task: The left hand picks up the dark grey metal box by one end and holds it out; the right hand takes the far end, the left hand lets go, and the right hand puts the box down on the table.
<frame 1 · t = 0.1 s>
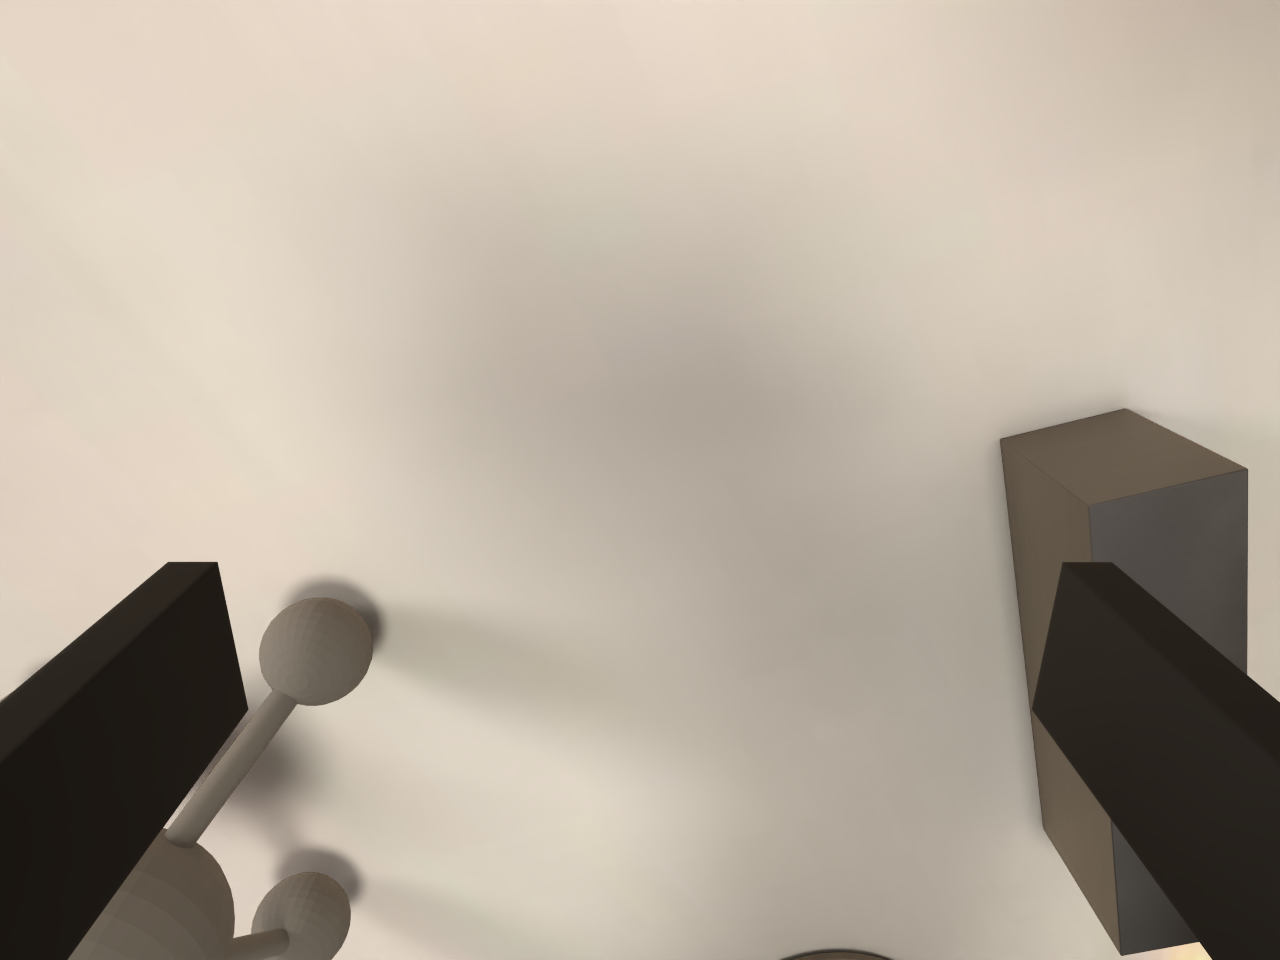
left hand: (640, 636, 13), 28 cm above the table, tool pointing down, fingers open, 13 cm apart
box: (1080, 641, 45), on the table
molecular model: (266, 719, 47), on the table
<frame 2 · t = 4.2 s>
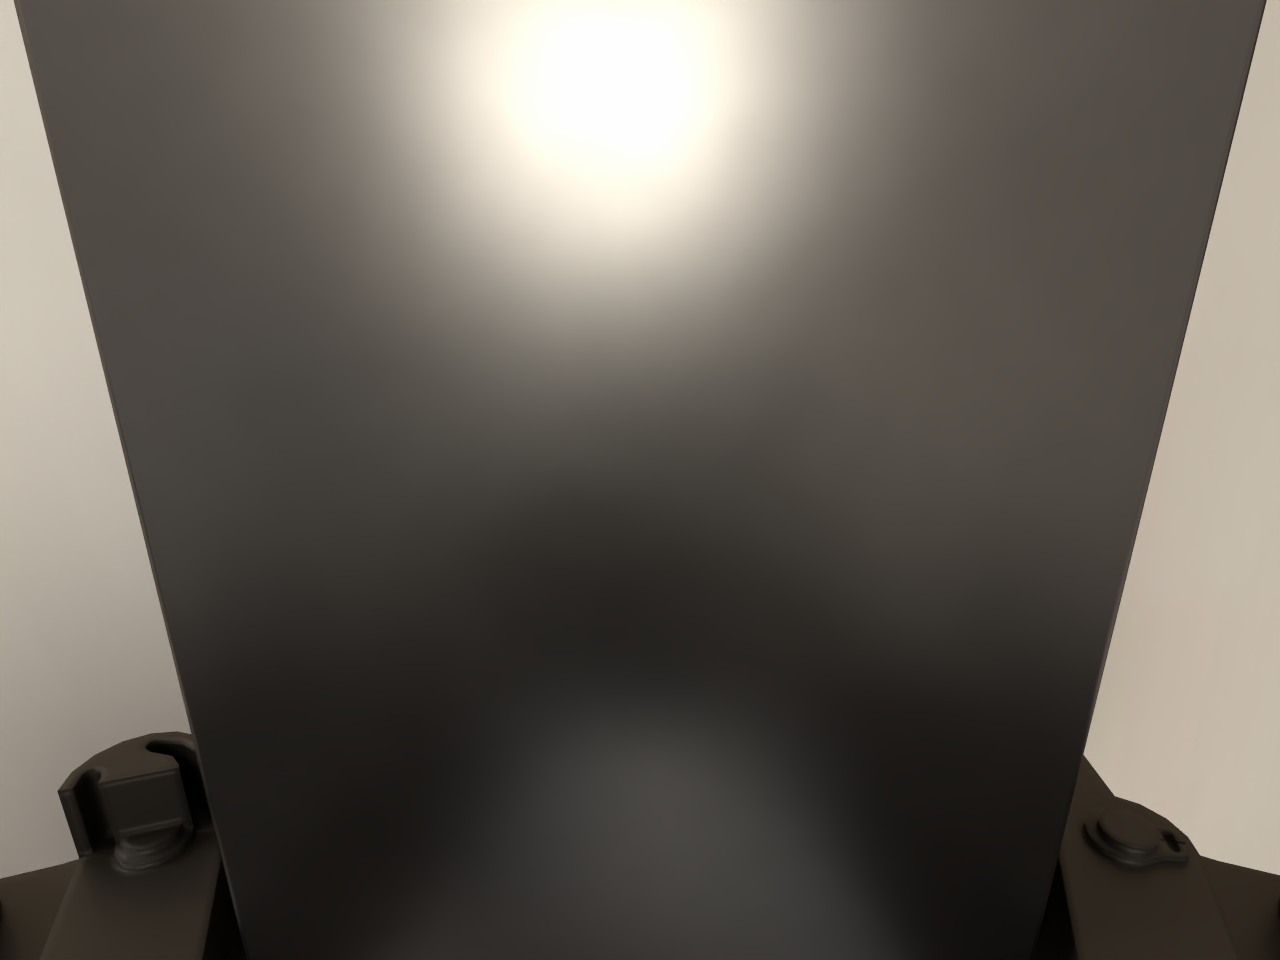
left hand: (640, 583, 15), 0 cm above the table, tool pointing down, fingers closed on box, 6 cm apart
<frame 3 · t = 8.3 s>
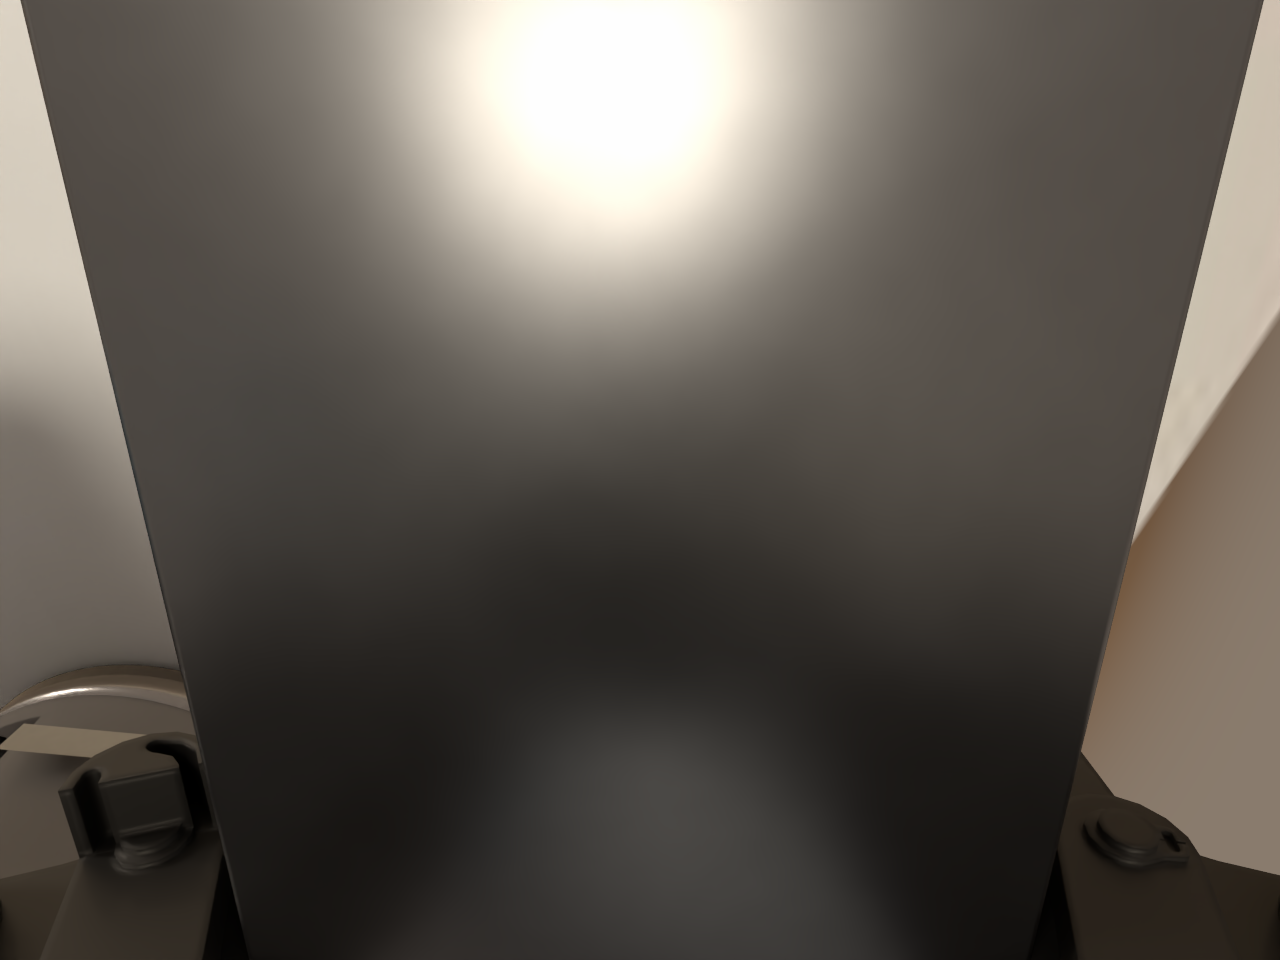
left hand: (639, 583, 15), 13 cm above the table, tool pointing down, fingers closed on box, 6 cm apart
when the left hand's fingers open (13 cm above the table, at t = 9.3 s): box stays where it is, held by the right hand.
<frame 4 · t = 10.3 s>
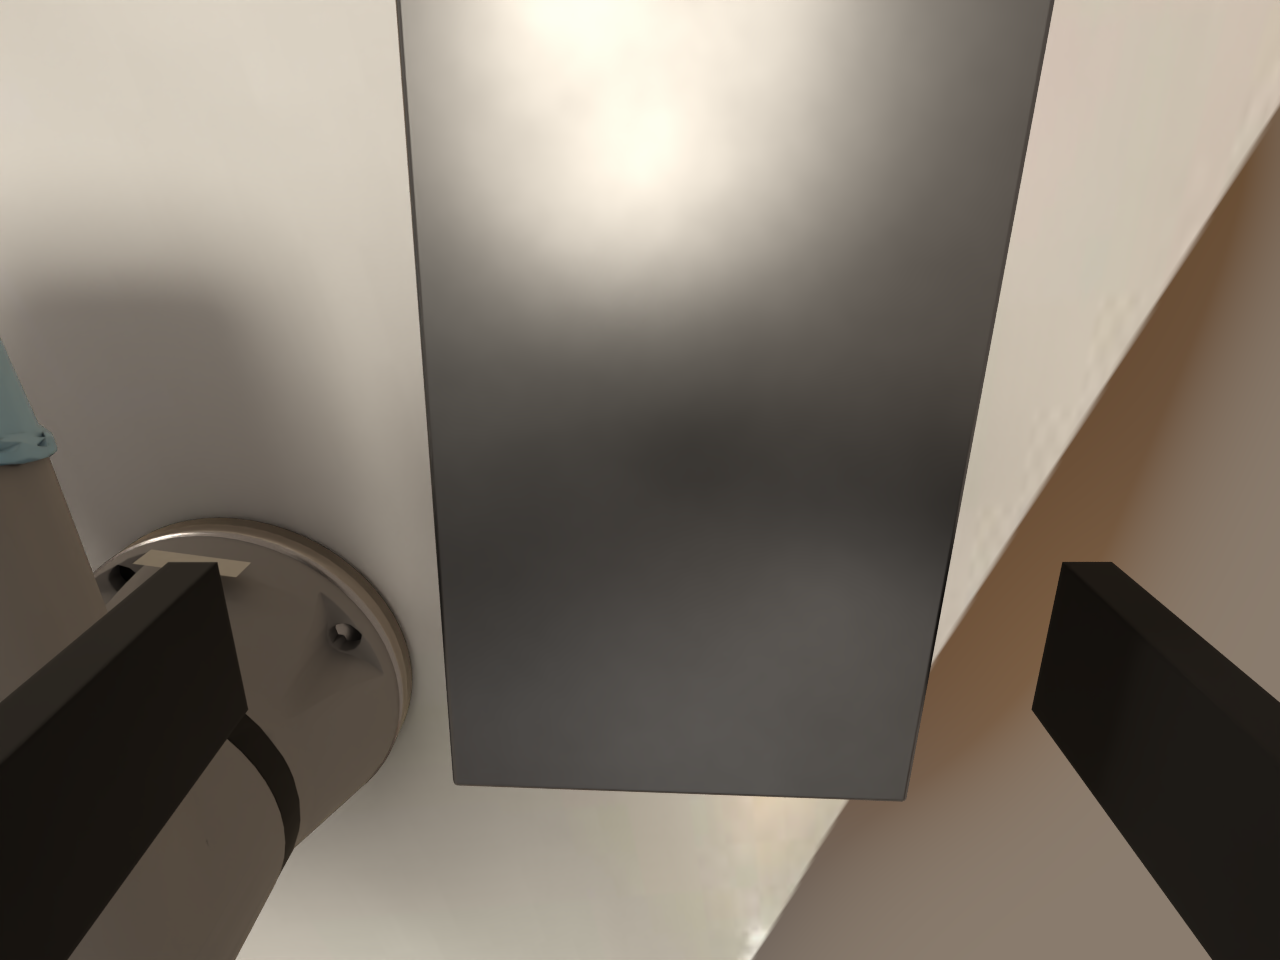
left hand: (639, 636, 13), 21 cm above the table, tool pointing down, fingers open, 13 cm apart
when the right hand's fingers open (5 cm above the table, at t = 17.3 s): box stays where it is, on the table.
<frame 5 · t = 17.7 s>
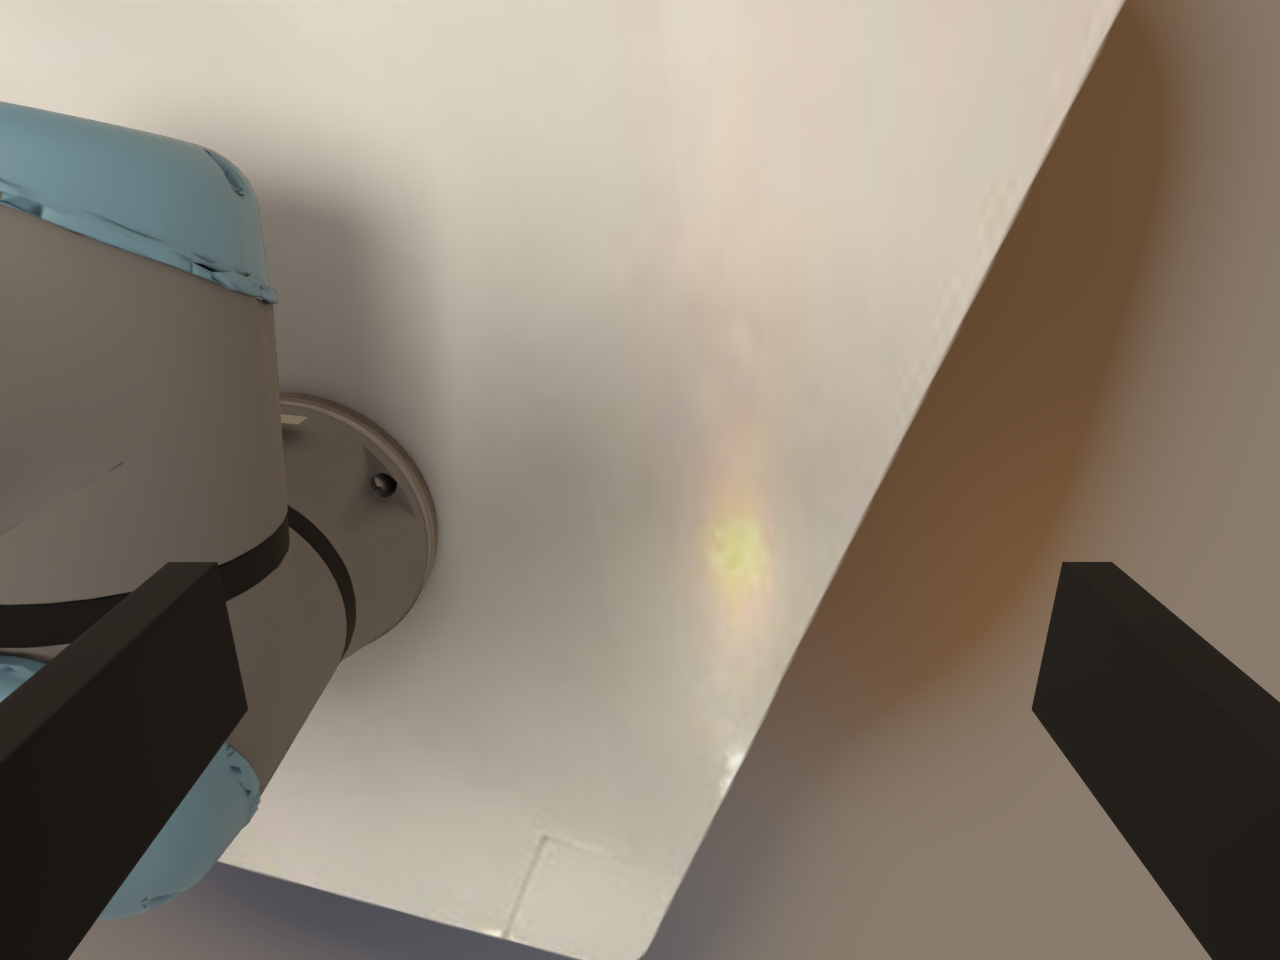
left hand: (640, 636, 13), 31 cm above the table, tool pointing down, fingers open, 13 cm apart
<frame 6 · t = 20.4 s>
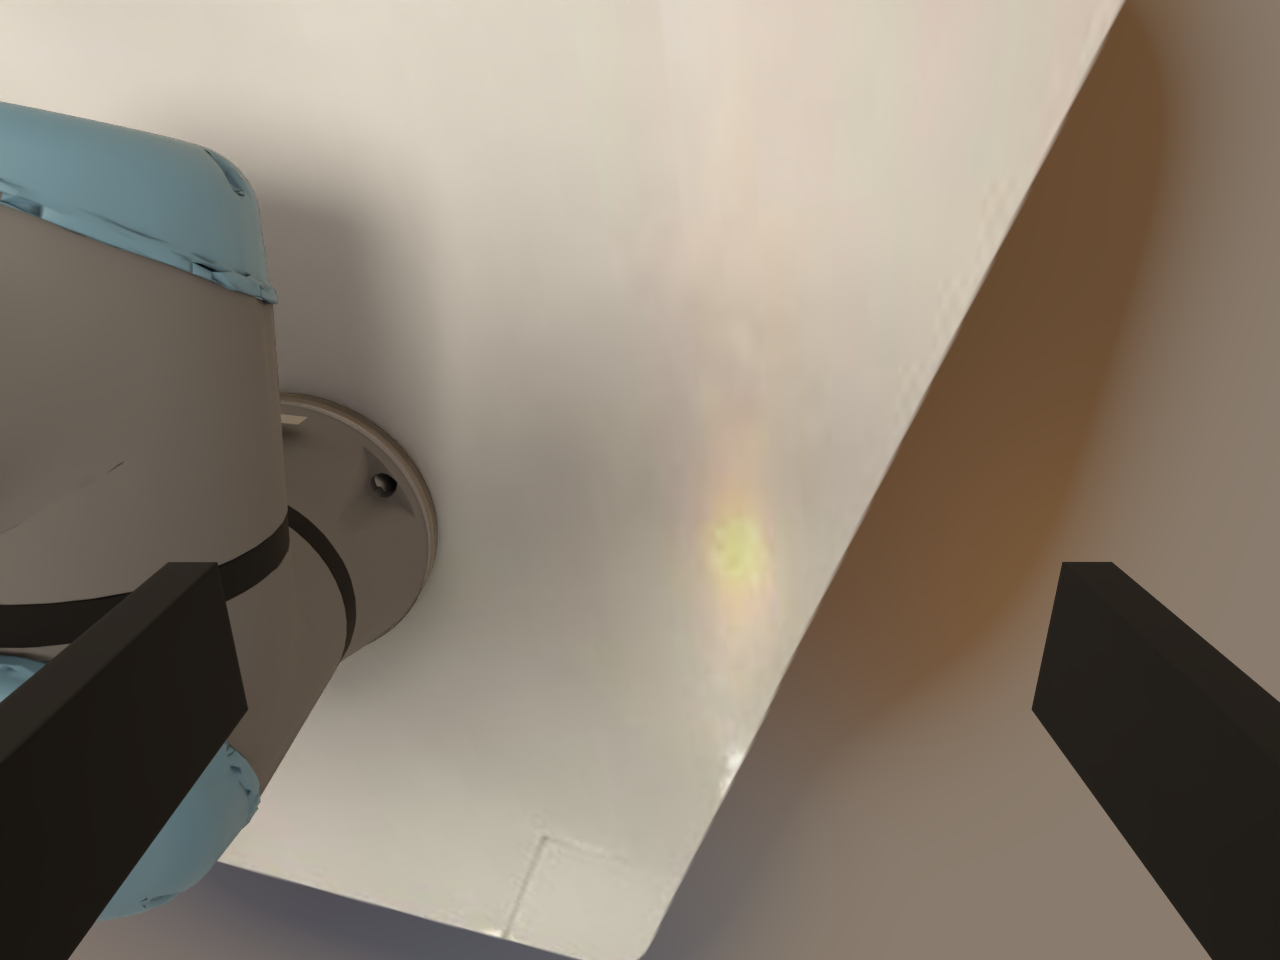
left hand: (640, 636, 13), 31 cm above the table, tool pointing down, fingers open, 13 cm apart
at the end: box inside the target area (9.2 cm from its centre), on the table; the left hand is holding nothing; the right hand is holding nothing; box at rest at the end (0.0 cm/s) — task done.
